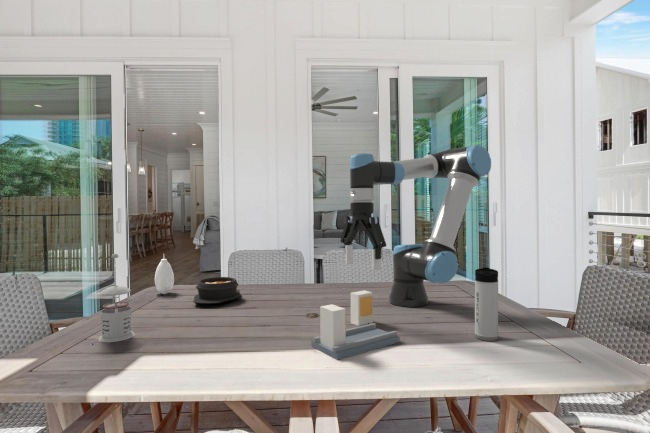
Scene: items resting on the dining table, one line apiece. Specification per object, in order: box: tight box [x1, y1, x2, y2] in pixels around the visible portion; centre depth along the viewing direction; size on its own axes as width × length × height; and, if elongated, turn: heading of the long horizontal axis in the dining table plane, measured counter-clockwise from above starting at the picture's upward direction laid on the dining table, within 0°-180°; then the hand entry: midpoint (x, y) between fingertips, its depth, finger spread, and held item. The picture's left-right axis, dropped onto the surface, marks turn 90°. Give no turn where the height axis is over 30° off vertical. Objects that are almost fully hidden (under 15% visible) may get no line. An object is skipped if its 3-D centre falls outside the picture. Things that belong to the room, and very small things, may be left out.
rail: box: [310, 304, 401, 361], centre depth 111 cm, size 12×22×12 cm, turn 124°
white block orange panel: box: [350, 289, 374, 327], centre depth 130 cm, size 6×5×10 cm
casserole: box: [192, 276, 242, 305], centre depth 163 cm, size 25×19×8 cm
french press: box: [98, 253, 136, 343], centre depth 119 cm, size 10×12×25 cm
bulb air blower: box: [154, 253, 175, 295], centre depth 176 cm, size 8×8×18 cm
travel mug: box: [474, 266, 499, 342], centre depth 115 cm, size 6×7×20 cm
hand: (362, 266), depth 130 cm, fingers open, 13 cm apart
